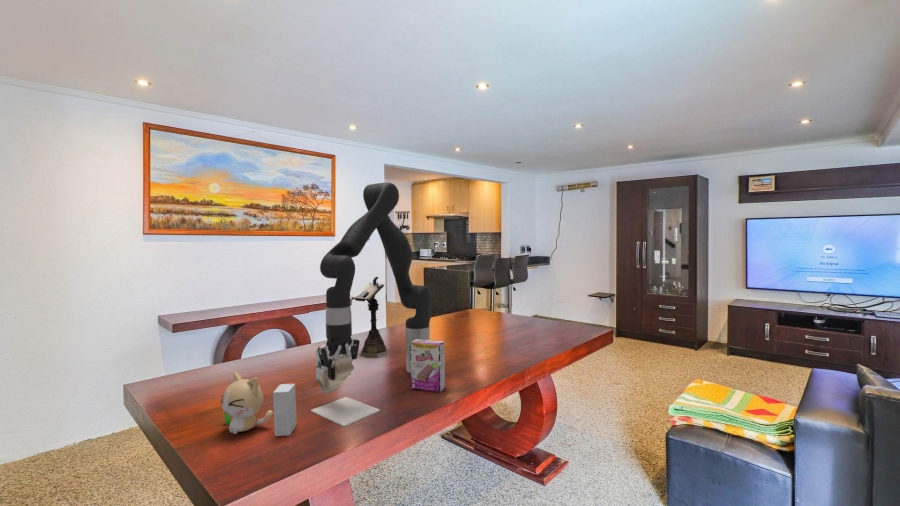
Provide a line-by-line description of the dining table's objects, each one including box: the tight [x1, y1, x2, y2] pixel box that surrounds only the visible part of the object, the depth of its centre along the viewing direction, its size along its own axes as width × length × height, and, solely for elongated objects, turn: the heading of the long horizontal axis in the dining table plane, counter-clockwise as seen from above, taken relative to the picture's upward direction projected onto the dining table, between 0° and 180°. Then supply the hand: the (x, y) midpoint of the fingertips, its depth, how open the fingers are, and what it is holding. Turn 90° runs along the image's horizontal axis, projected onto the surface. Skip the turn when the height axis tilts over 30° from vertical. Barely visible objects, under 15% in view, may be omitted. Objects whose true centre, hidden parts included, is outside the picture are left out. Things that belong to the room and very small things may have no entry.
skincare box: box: [272, 383, 298, 437], centre depth 112 cm, size 6×4×12 cm
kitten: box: [220, 371, 274, 435], centre depth 113 cm, size 15×10×15 cm
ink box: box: [315, 344, 334, 381], centre depth 154 cm, size 9×5×12 cm, turn 168°
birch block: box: [317, 354, 355, 394], centre depth 127 cm, size 5×5×12 cm
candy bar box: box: [410, 339, 446, 393], centre depth 141 cm, size 11×5×16 cm, turn 71°
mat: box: [310, 396, 381, 428], centre depth 124 cm, size 16×13×1 cm
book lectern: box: [350, 276, 388, 359], centre depth 181 cm, size 17×13×35 cm
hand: (340, 376), depth 125 cm, fingers closed on birch block, 5 cm apart
